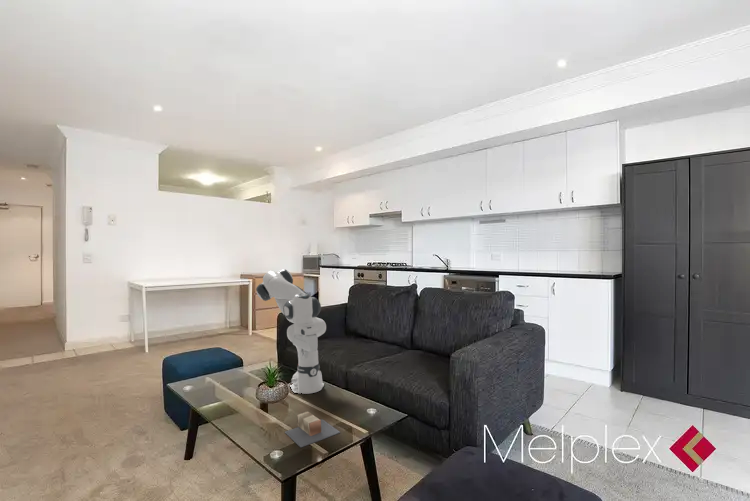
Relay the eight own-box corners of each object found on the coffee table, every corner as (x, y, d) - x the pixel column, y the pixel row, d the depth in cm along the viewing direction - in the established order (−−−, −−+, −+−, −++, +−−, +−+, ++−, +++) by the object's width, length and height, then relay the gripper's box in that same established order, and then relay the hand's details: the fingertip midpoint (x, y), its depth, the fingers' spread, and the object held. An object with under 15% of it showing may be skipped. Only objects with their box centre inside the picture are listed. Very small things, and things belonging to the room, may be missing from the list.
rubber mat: (284, 432, 156) (284, 431, 156) (322, 419, 167) (322, 419, 167) (300, 447, 143) (300, 446, 143) (340, 432, 154) (340, 431, 154)
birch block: (297, 414, 161) (310, 424, 152) (307, 411, 164) (320, 420, 155) (297, 426, 161) (310, 436, 151) (308, 422, 164) (321, 432, 155)
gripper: (288, 326, 180) (289, 354, 180) (307, 332, 163) (308, 363, 163) (300, 324, 183) (301, 352, 183) (319, 330, 167) (320, 360, 167)
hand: (304, 357), depth 173 cm, fingers closed
